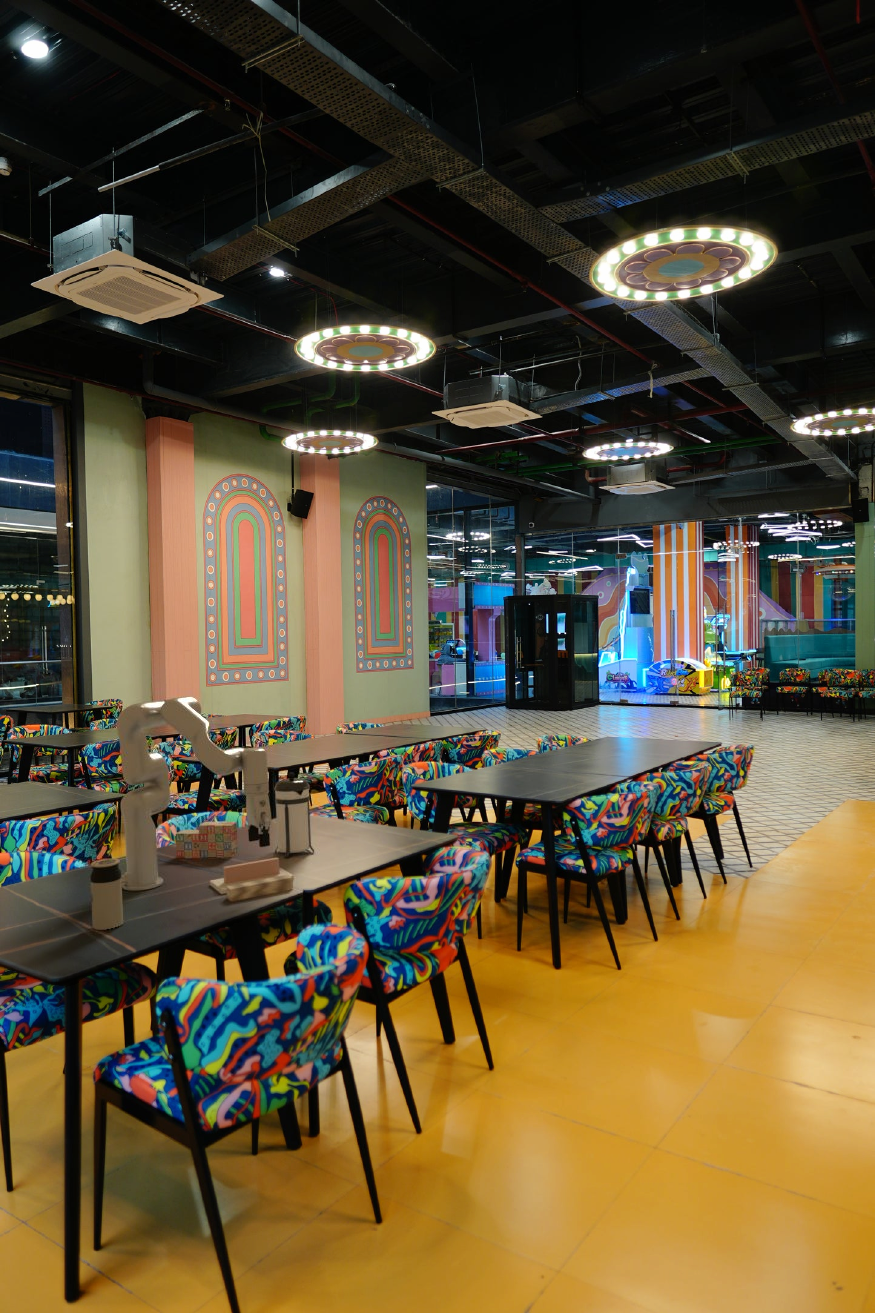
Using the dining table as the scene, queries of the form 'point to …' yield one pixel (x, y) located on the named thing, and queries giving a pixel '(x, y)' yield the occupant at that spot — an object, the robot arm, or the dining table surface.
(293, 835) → the coffee press
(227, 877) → the stand
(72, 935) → the dining table surface
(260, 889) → the oak bar
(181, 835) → the stack of blocks
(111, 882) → the travel mug
